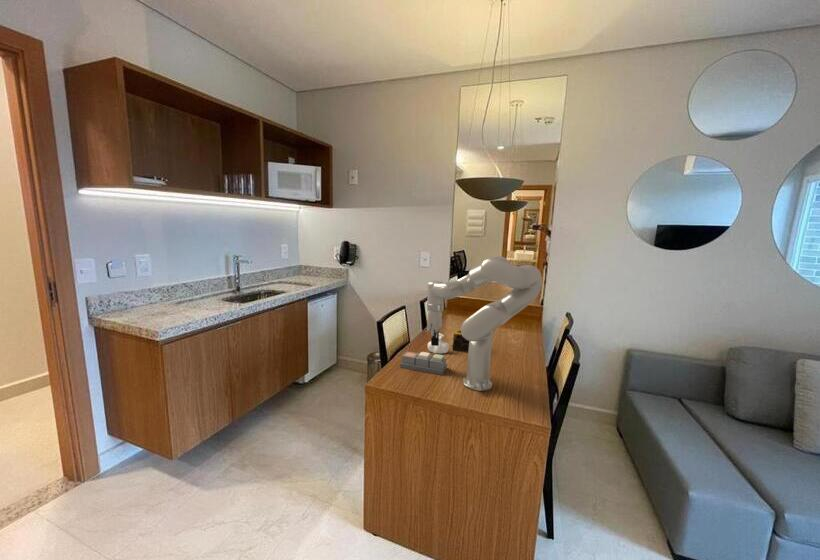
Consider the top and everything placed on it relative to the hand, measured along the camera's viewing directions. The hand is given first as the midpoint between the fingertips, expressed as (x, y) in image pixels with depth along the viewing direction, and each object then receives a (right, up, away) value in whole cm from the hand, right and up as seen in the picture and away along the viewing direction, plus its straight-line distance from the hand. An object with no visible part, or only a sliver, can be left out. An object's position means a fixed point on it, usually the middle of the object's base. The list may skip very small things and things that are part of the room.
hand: (435, 345), depth 159 cm
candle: (+18, -9, +32) cm, 37 cm away
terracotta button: (-12, -9, +6) cm, 16 cm away
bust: (+4, -9, +26) cm, 28 cm away
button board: (-5, -12, +4) cm, 13 cm away
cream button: (-5, -8, +3) cm, 10 cm away
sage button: (+1, -9, +1) cm, 9 cm away
